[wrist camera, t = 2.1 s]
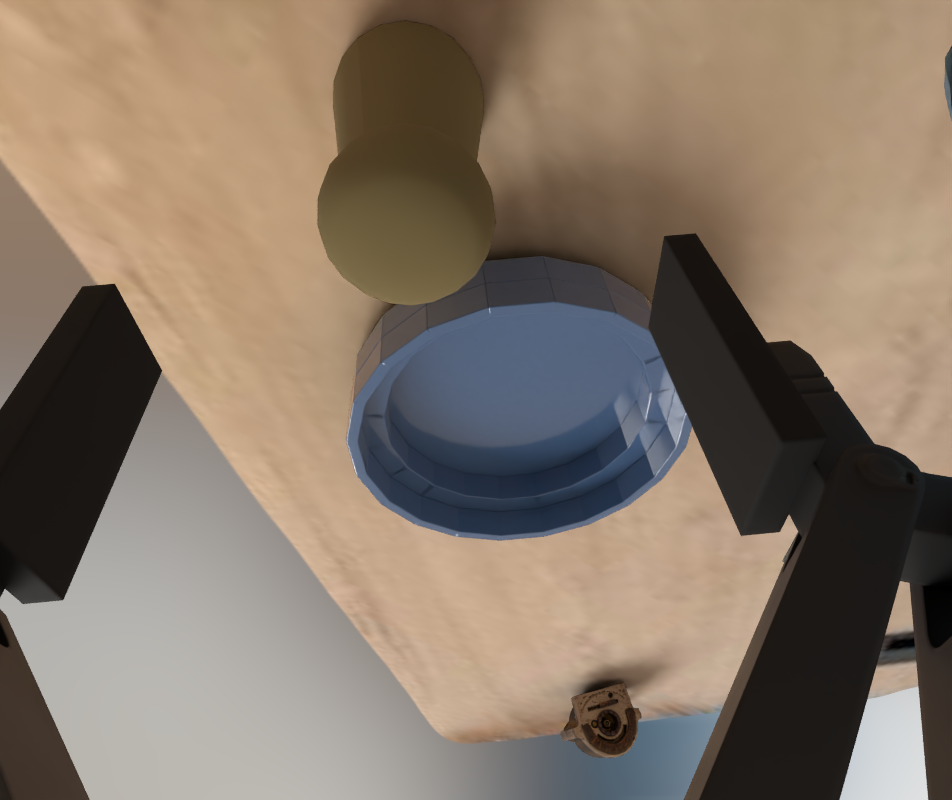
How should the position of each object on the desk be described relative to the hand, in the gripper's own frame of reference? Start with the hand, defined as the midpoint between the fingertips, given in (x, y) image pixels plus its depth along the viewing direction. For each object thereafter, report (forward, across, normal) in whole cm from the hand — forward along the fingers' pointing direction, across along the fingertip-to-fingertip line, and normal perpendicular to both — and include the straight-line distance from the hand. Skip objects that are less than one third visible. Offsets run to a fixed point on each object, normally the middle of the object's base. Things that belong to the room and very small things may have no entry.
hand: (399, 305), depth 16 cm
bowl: (+14, +4, -16) cm, 21 cm away
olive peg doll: (+14, 0, 0) cm, 14 cm away
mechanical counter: (+14, +12, -67) cm, 69 cm away
